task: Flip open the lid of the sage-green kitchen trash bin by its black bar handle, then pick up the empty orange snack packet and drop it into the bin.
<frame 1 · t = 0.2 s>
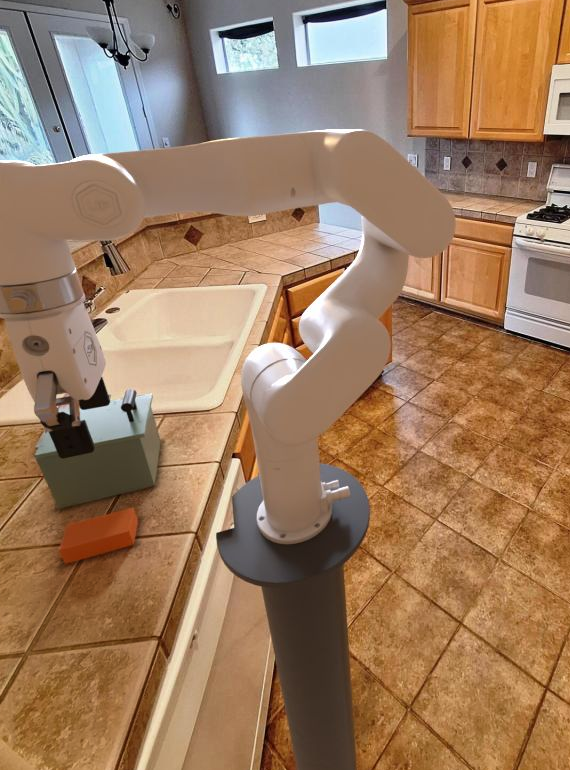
hand: (88, 428, 51), 26 cm above the counter, tool pointing down, fingers open, 9 cm apart
bin lid: (96, 413, 75), point 13 cm above the counter, hinge at 0.0°
packet: (103, 541, 67), on the counter
packaged product: (78, 424, 94), on the counter
bin: (114, 471, 81), on the counter
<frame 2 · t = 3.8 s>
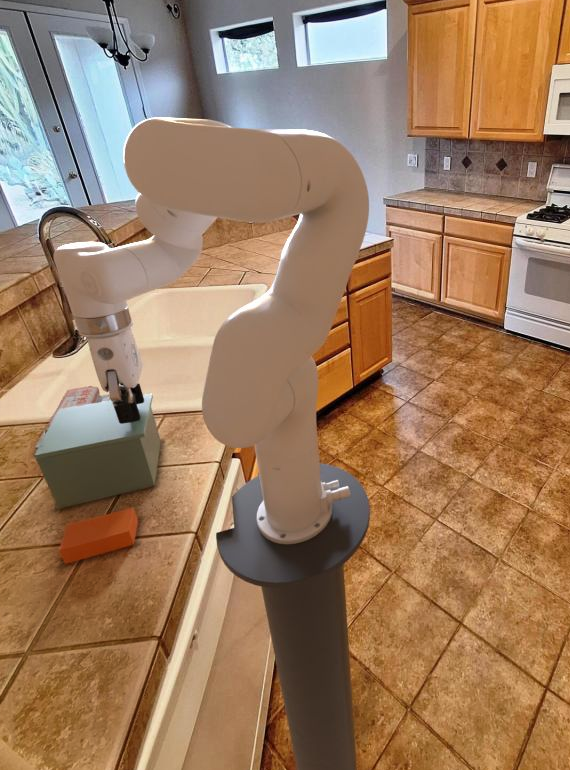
hand: (132, 411, 78), 12 cm above the counter, tool pointing down, fingers closed on bin lid, 5 cm apart
bin lid: (96, 413, 75), point 13 cm above the counter, hinge at 0.0°, touching gripper
everything else where it was.
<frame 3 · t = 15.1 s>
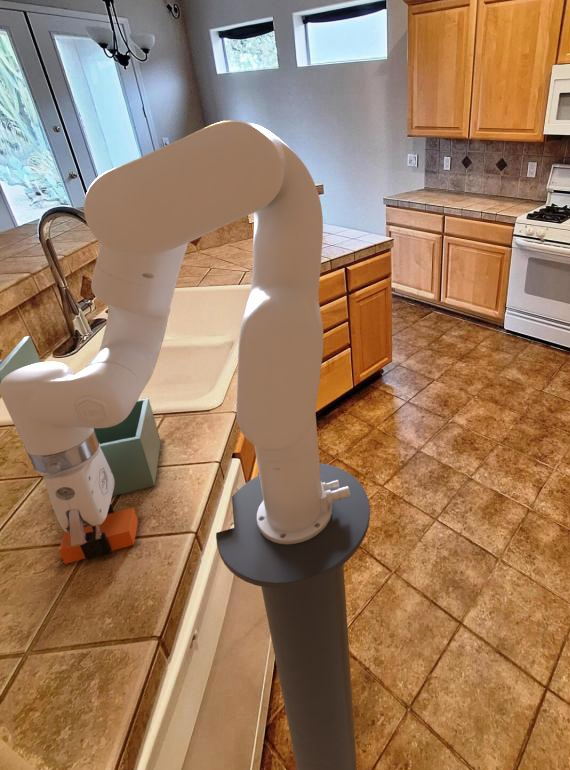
hand: (102, 539, 67), 0 cm above the counter, tool pointing down, fingers closed on packet, 5 cm apart
bin lid: (16, 397, 70), point 19 cm above the counter, hinge at 90.8°
packet: (103, 541, 67), on the counter, touching gripper
everything else where it was.
when the fingers open (9 cm above the counter, at t = 21.6 s): packet drops 8 cm, resting on bin.
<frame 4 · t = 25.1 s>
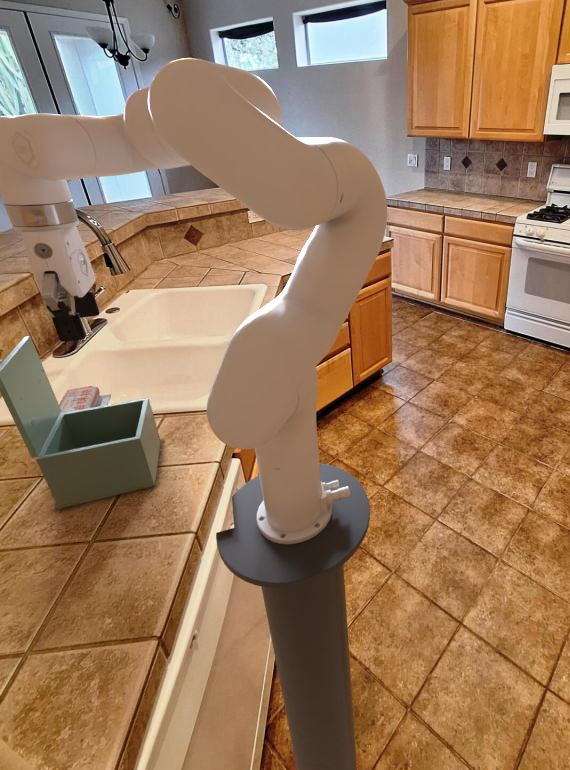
hand: (81, 327, 67), 30 cm above the counter, tool pointing down, fingers open, 9 cm apart
packet: (116, 467, 81), point 1 cm above the counter, touching bin
everything else where it was.
at the end: bin lid at +91° (first picture: +0°); packet inside the target area in the bin (0.5 cm from its centre), point 0.8 cm above the bin's base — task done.
